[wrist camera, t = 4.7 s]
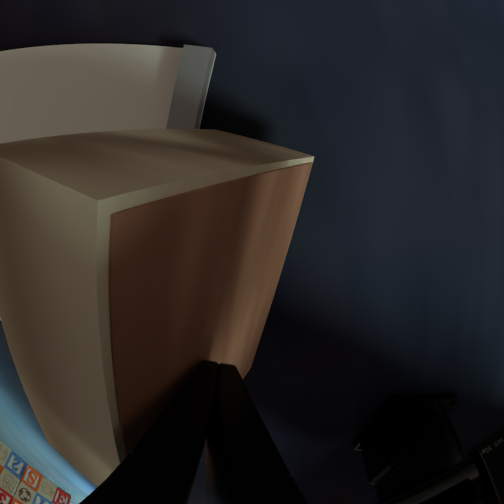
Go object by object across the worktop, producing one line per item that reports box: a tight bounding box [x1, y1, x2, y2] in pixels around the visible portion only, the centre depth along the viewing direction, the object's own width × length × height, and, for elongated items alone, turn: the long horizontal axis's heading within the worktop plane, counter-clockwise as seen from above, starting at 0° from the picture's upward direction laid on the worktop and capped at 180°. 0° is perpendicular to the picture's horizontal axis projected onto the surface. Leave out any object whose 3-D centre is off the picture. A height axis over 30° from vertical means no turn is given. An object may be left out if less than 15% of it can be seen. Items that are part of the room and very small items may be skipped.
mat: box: [0, 44, 216, 320], centre depth 13 cm, size 13×16×1 cm
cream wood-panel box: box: [0, 129, 314, 487], centre depth 10 cm, size 4×10×9 cm, turn 168°
